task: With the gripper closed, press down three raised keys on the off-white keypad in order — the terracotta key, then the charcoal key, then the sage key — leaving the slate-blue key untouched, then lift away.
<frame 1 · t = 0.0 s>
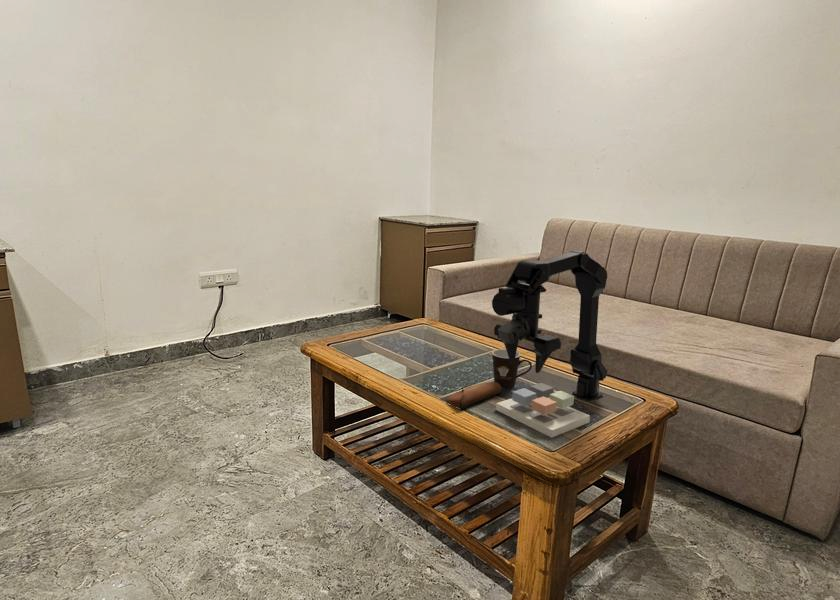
hand: (524, 367, 146), 15 cm above the table, fingers open, 9 cm apart
slate key: (524, 396, 150), point 5 cm above the table, slide at 0.0 cm
sunglasses case: (471, 400, 162), on the table
keypad board: (541, 416, 151), on the table
sage key: (561, 399, 149), point 5 cm above the table, slide at 0.0 cm
charcoal key: (541, 391, 154), point 5 cm above the table, slide at 0.0 cm
terracotta key: (544, 405, 145), point 5 cm above the table, slide at 0.0 cm
coffee mug: (508, 385, 172), on the table
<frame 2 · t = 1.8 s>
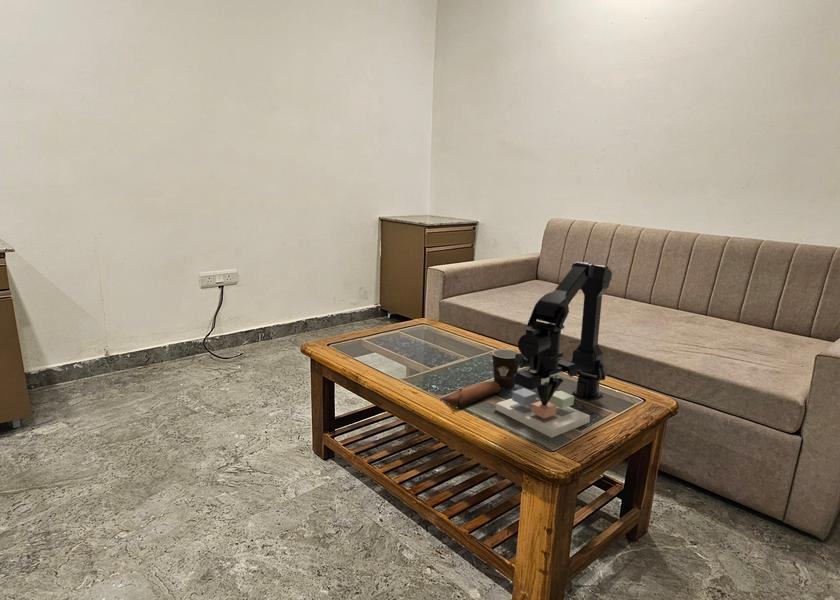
hand: (544, 404, 145), 6 cm above the table, fingers closed, pressing on terracotta key
terracotta key: (543, 409, 145), point 4 cm above the table, slide at 1.0 cm, touching gripper
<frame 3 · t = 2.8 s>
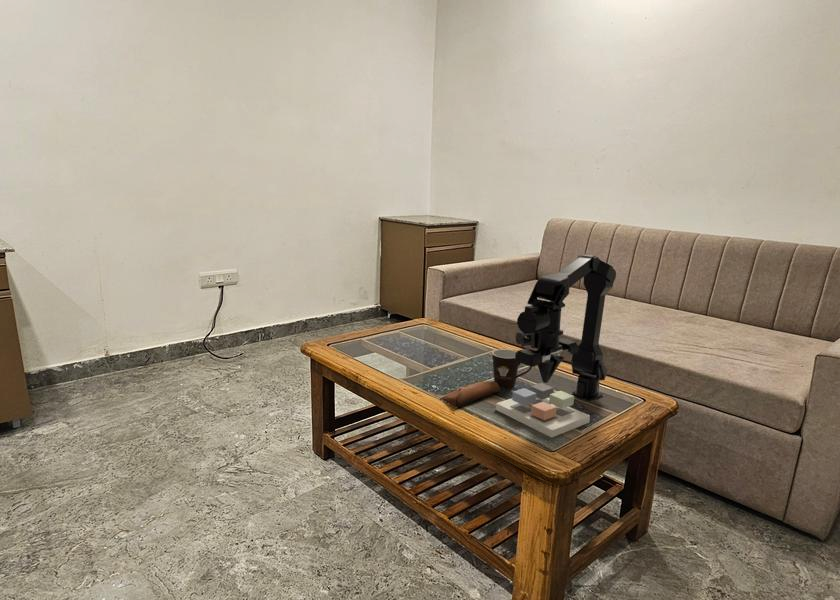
hand: (545, 382, 146), 11 cm above the table, fingers closed
terracotta key: (543, 410, 145), point 4 cm above the table, slide at 1.4 cm
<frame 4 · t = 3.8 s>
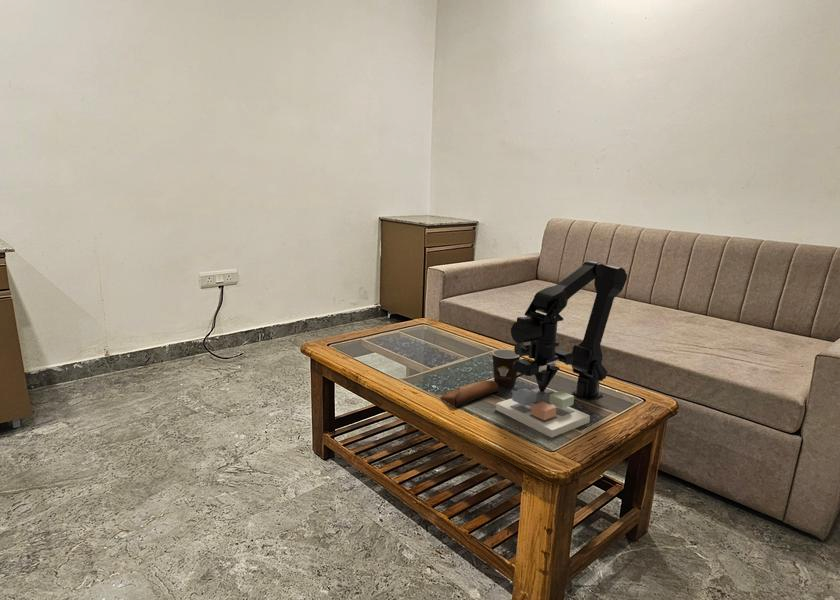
hand: (542, 390, 154), 5 cm above the table, fingers closed, pressing on charcoal key
charcoal key: (541, 395, 155), point 4 cm above the table, slide at 1.2 cm, touching gripper
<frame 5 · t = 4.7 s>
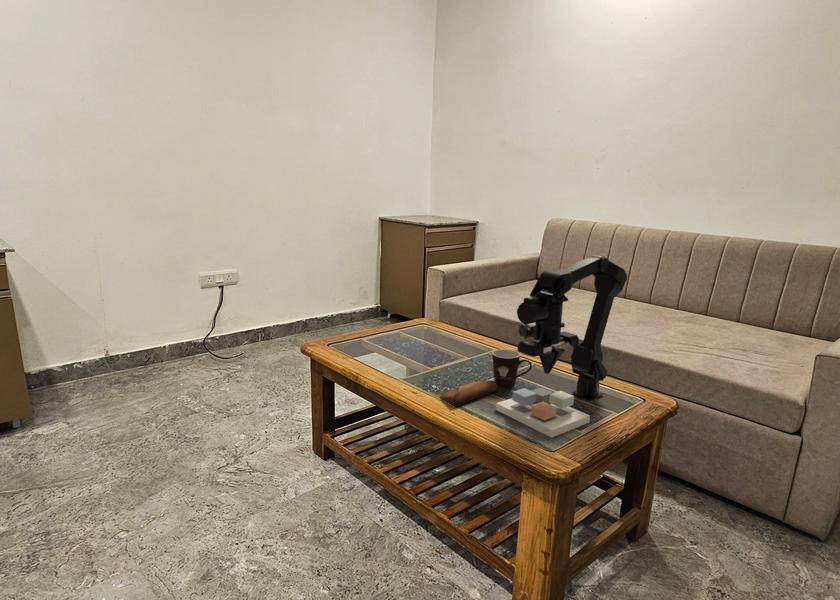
hand: (546, 373, 152), 11 cm above the table, fingers closed
charcoal key: (541, 395, 155), point 4 cm above the table, slide at 1.5 cm
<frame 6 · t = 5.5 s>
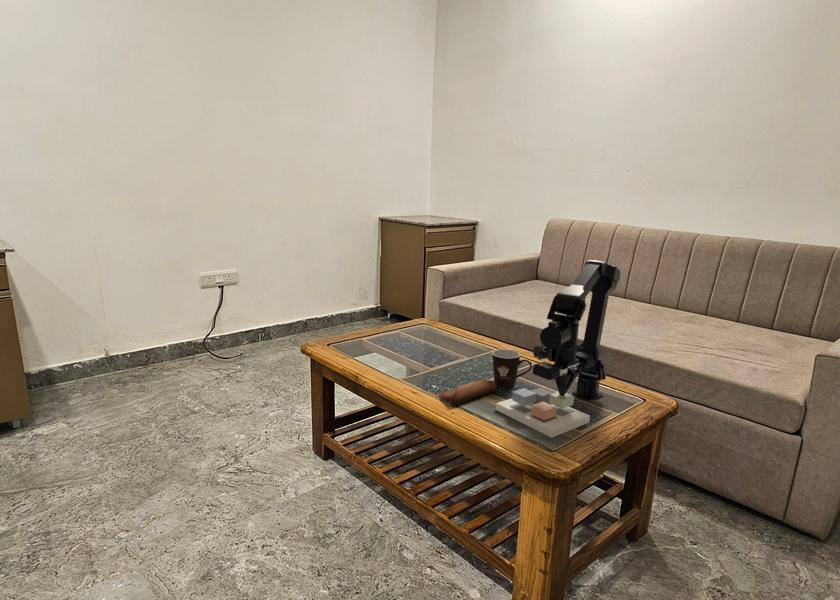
hand: (561, 395, 149), 6 cm above the table, fingers closed, pressing on sage key
sage key: (561, 399, 149), point 5 cm above the table, slide at 0.0 cm, touching gripper
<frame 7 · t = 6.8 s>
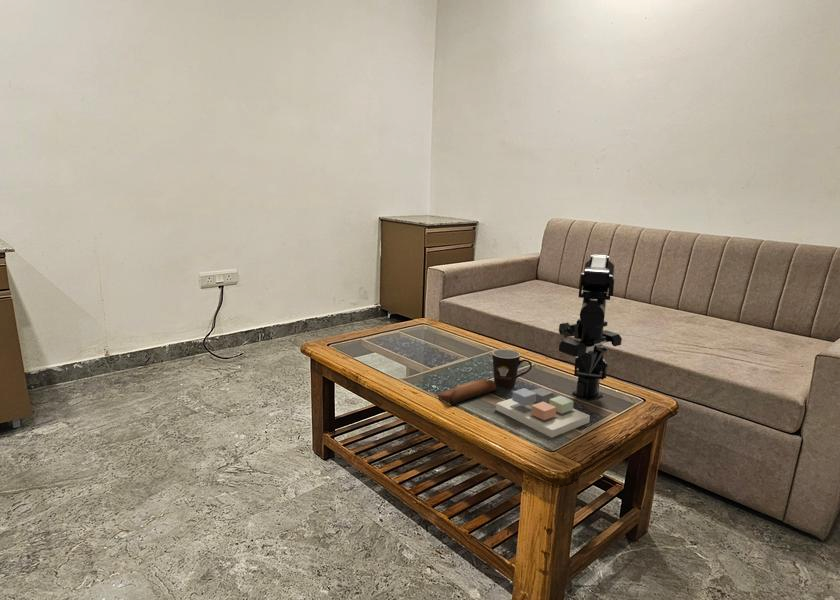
hand: (587, 373, 147), 13 cm above the table, fingers closed
sage key: (561, 404, 149), point 4 cm above the table, slide at 1.5 cm
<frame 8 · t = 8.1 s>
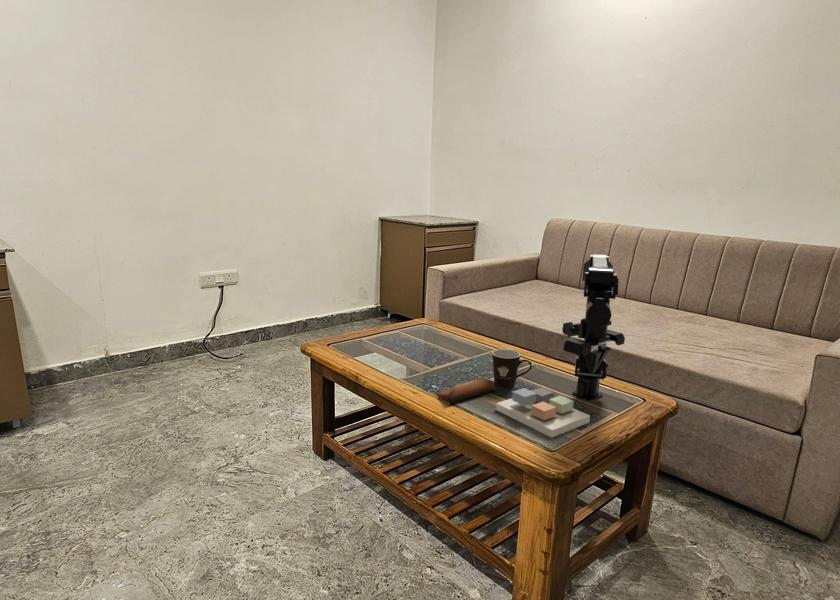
hand: (591, 372, 147), 13 cm above the table, fingers closed
at the end: terracotta key slide at 1.4 cm; charcoal key slide at 1.5 cm; sage key slide at 1.5 cm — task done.
